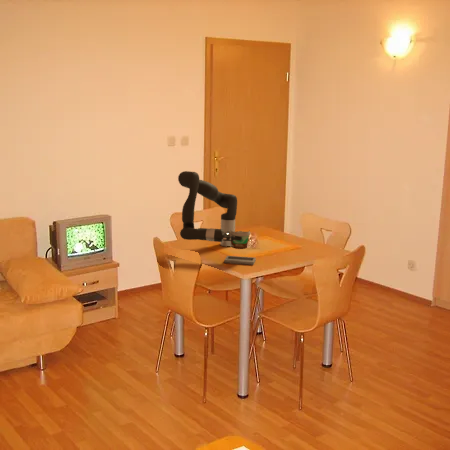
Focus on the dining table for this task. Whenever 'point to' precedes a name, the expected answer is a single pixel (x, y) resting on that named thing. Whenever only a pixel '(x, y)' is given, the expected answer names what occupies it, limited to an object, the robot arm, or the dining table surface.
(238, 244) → the food container
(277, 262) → the dining table surface
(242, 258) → the tray
